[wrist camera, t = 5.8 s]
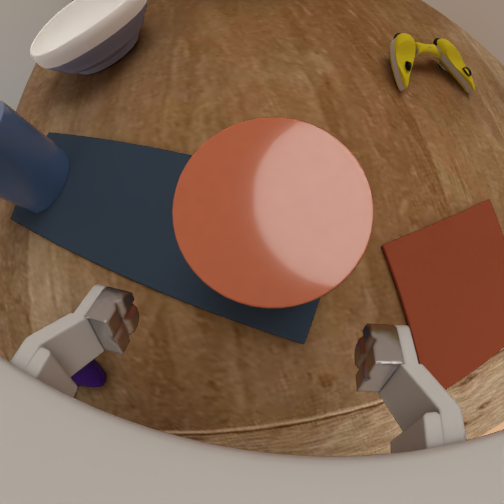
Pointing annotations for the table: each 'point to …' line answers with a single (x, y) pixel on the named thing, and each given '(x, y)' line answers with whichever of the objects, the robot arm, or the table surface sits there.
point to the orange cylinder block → (273, 212)
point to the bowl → (89, 35)
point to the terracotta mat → (452, 291)
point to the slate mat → (140, 227)
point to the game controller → (441, 49)
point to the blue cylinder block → (29, 163)
